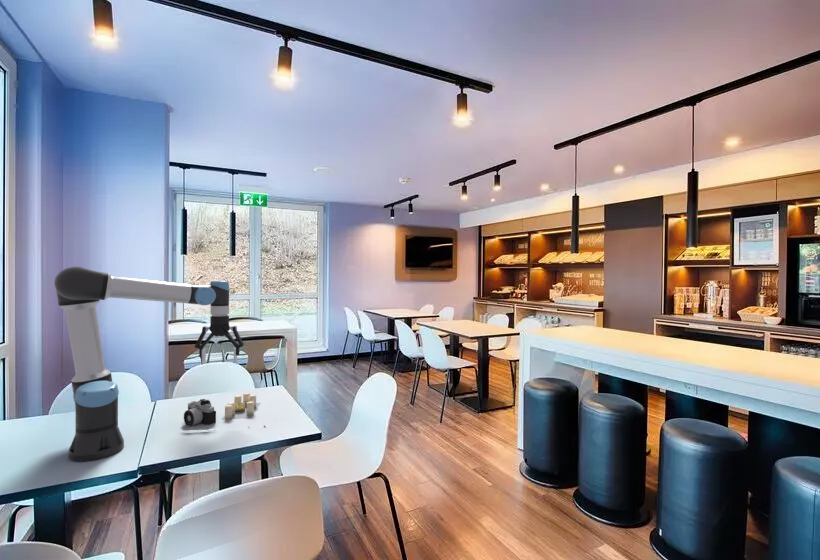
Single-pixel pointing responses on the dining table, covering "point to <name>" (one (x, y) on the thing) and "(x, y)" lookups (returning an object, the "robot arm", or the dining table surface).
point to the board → (249, 407)
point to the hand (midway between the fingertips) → (219, 363)
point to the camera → (200, 413)
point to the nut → (240, 407)
